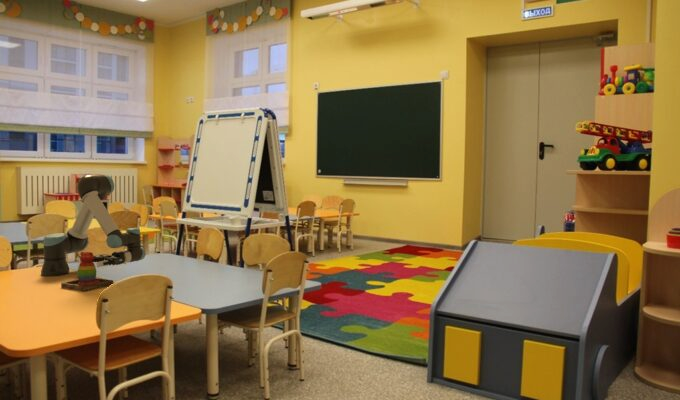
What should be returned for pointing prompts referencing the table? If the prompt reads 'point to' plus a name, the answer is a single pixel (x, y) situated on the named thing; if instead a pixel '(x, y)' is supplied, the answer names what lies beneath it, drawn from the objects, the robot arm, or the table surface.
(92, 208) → the robot arm
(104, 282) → the dark brown square tray
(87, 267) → the stacking bear
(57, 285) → the table surface
